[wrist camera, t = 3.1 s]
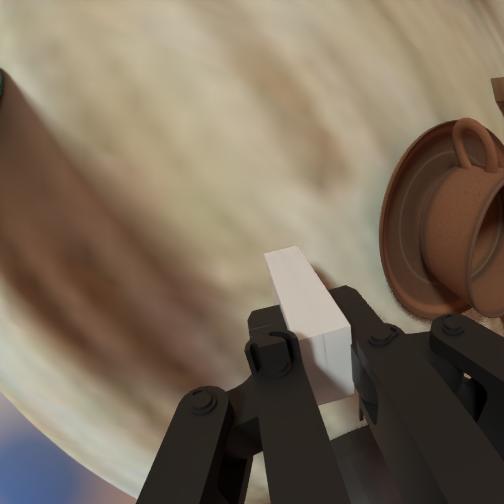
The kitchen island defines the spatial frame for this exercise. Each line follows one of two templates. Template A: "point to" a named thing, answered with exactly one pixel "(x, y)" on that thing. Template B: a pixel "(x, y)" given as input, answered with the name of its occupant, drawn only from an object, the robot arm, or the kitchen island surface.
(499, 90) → the brown wooden rail pair
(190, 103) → the kitchen island surface
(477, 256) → the cup and saucer
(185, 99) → the kitchen island surface
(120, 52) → the kitchen island surface
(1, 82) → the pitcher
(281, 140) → the kitchen island surface
